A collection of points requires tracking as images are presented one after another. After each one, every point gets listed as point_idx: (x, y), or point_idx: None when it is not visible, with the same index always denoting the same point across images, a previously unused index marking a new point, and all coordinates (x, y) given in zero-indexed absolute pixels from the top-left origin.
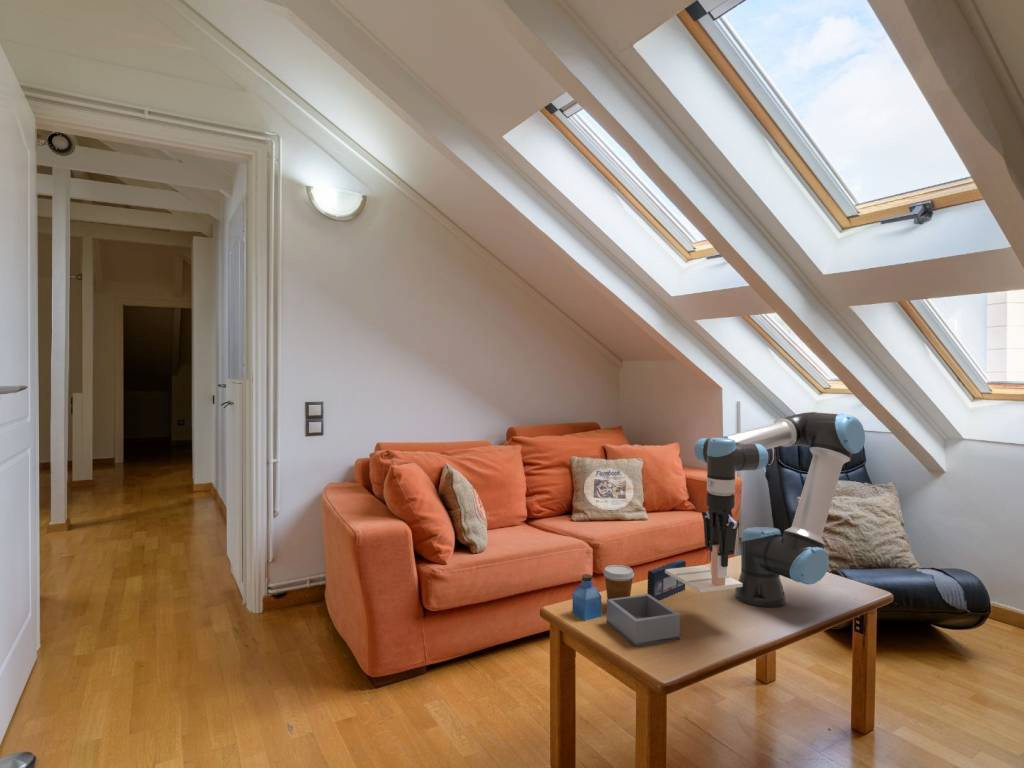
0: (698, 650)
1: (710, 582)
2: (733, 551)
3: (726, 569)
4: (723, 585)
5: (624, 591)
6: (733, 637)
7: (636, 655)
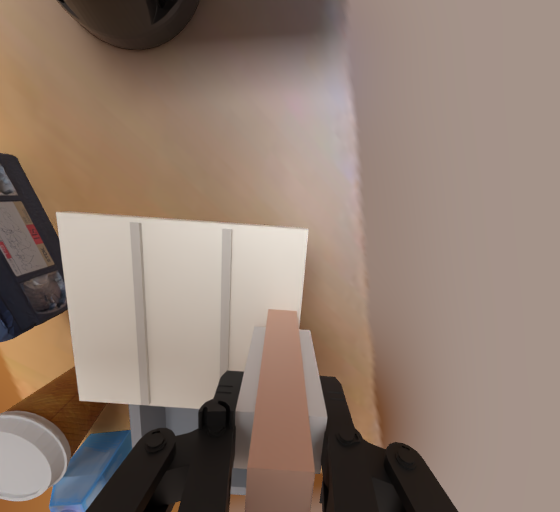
0: (325, 356)
1: None
2: (430, 480)
3: (313, 353)
4: (298, 320)
5: (88, 421)
6: (311, 252)
7: None
